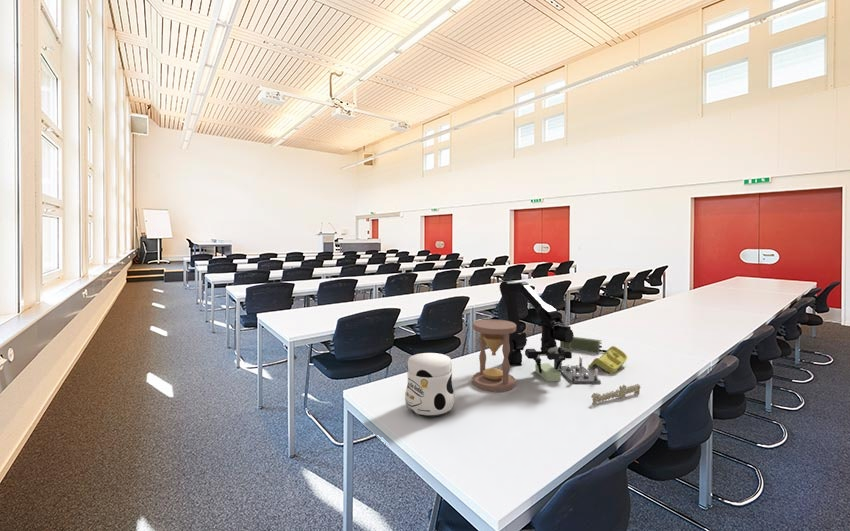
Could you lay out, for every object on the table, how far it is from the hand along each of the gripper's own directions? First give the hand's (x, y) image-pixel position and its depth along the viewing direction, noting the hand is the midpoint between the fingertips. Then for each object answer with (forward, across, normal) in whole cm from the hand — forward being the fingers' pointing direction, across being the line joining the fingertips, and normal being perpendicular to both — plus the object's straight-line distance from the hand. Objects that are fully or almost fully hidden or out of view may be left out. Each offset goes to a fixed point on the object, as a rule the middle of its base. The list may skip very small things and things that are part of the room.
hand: (547, 372), depth 165 cm
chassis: (+1, +13, 0) cm, 13 cm away
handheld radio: (+2, +32, +35) cm, 47 cm away
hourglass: (+2, -25, -8) cm, 26 cm away
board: (+2, 0, 0) cm, 2 cm away
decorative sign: (+2, +18, -23) cm, 30 cm away
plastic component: (+2, +32, +11) cm, 34 cm away
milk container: (+2, -52, -31) cm, 61 cm away
